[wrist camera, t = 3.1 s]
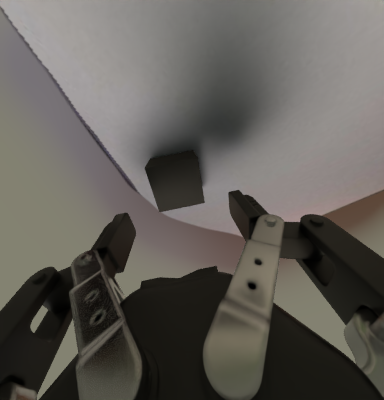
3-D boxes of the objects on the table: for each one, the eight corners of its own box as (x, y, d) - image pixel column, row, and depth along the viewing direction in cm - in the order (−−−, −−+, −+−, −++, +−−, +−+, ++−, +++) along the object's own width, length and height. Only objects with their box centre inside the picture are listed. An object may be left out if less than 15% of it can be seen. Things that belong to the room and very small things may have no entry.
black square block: (161, 196, 22) (159, 212, 18) (149, 158, 19) (144, 167, 15) (199, 189, 22) (204, 203, 18) (193, 149, 19) (197, 157, 15)
